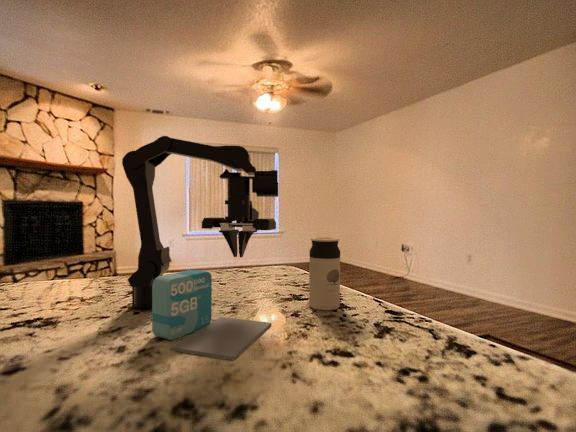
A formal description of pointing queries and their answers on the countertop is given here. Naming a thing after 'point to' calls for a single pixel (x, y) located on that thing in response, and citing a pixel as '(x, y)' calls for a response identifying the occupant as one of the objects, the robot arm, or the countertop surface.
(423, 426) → the countertop surface
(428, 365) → the countertop surface
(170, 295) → the data package
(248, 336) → the mat
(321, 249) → the travel mug
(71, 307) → the countertop surface
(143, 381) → the countertop surface
